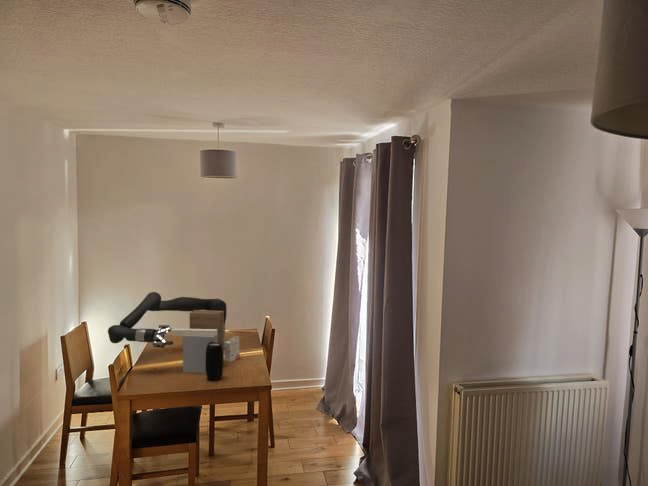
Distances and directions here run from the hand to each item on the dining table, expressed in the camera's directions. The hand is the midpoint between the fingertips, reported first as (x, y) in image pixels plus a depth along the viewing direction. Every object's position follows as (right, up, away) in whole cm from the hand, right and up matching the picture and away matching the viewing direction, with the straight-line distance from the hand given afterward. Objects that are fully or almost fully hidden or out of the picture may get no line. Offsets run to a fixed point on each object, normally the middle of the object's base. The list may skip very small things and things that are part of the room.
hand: (174, 336), depth 246 cm
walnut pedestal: (+15, -19, +12) cm, 27 cm away
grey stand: (+14, -20, +1) cm, 25 cm away
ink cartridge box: (+28, -19, +22) cm, 41 cm away
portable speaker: (+25, -21, -10) cm, 35 cm away
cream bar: (+11, +1, 0) cm, 11 cm away
